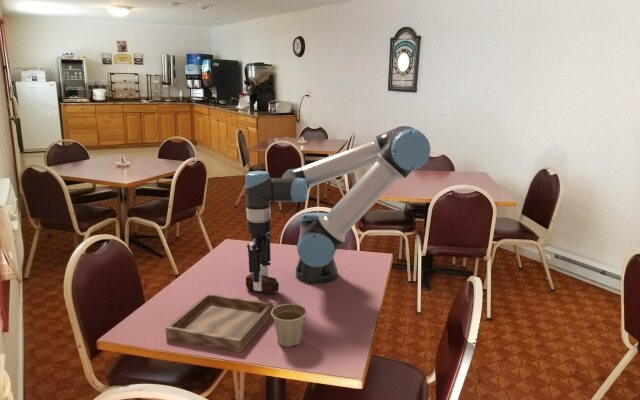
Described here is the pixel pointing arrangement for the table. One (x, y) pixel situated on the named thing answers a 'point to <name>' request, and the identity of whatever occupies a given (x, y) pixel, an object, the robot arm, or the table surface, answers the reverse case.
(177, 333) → the tray
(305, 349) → the table surface
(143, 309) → the table surface
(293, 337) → the flower pot
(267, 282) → the brick
